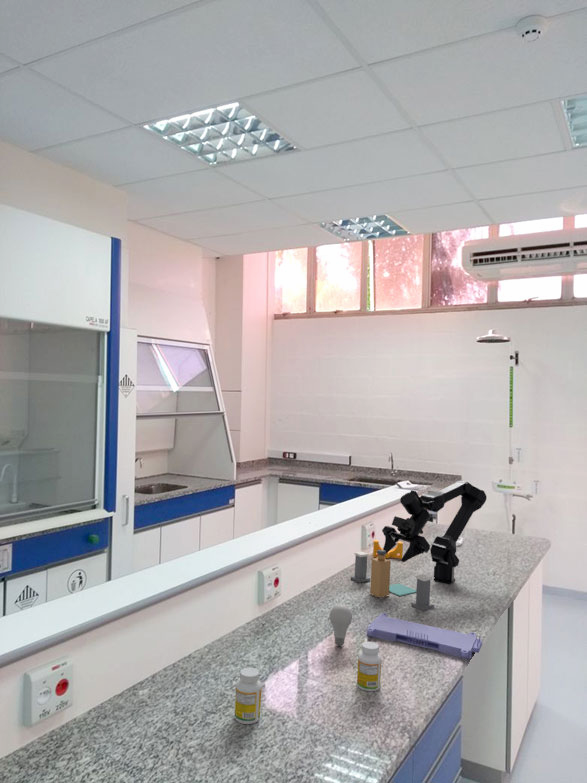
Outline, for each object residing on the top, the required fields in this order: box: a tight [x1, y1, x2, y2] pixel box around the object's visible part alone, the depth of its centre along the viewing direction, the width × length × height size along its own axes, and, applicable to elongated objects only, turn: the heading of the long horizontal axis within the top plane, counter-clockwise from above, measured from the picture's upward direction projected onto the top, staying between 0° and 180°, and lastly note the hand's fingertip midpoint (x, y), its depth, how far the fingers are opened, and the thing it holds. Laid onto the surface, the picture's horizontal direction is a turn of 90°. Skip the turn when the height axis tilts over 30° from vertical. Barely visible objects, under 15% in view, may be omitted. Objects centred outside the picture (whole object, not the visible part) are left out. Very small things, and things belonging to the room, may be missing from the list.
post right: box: [350, 551, 371, 584], centre depth 218 cm, size 5×5×10 cm
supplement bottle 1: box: [234, 667, 263, 725], centre depth 124 cm, size 5×5×10 cm
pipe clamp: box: [372, 539, 404, 559], centre depth 250 cm, size 12×4×6 cm, turn 85°
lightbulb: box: [328, 604, 353, 647], centre depth 161 cm, size 6×6×11 cm
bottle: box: [369, 550, 392, 598], centre depth 203 cm, size 4×4×15 cm
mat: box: [389, 583, 417, 597], centre depth 209 cm, size 9×9×1 cm
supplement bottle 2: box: [356, 641, 382, 692], centre depth 140 cm, size 5×5×10 cm
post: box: [410, 573, 435, 611], centre depth 194 cm, size 5×5×10 cm
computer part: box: [366, 613, 483, 660], centre depth 168 cm, size 30×4×15 cm
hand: (392, 557), depth 207 cm, fingers open, 9 cm apart
